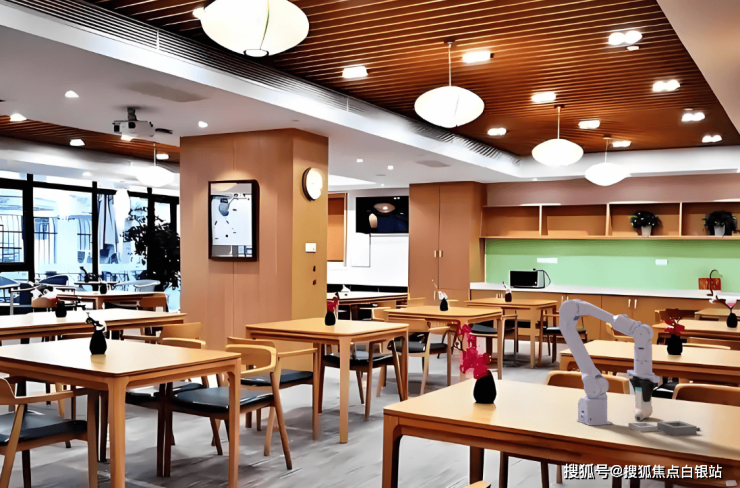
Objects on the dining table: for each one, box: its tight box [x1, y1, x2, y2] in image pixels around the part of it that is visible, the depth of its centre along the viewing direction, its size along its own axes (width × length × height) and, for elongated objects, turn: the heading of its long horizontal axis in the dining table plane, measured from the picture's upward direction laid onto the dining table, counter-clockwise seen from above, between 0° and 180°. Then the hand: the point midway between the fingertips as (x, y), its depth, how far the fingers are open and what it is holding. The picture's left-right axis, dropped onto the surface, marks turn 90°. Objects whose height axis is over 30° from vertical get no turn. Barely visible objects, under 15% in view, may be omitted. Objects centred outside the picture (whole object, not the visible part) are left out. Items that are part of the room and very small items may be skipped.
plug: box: [634, 387, 653, 410], centre depth 232 cm, size 4×3×7 cm
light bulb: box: [633, 403, 653, 422], centre depth 248 cm, size 7×7×11 cm
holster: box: [627, 421, 659, 433], centre depth 232 cm, size 7×6×2 cm
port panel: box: [656, 420, 701, 436], centre depth 229 cm, size 14×8×2 cm, turn 105°
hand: (643, 400), depth 232 cm, fingers closed on plug, 3 cm apart
